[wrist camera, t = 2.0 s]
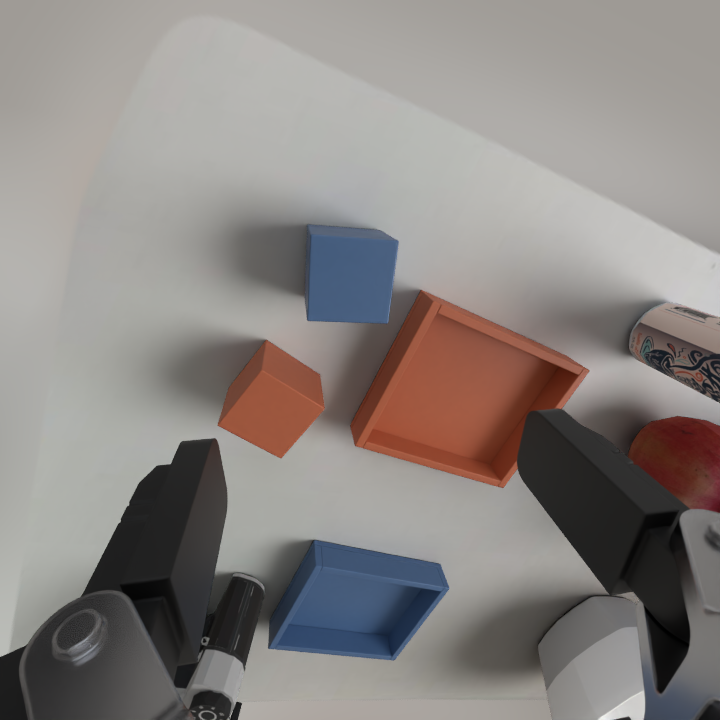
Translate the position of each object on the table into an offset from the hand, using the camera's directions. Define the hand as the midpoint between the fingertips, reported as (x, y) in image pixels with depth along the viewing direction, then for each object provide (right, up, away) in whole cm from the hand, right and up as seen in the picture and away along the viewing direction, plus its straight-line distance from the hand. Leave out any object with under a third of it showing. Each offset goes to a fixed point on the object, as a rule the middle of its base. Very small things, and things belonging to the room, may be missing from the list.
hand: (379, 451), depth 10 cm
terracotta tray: (+7, 0, +19) cm, 20 cm away
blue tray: (-1, -20, +27) cm, 34 cm away
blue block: (-2, +8, +14) cm, 16 cm away
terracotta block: (-6, +1, +16) cm, 17 cm away
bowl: (+28, -30, +37) cm, 55 cm away
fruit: (+25, -4, +24) cm, 35 cm away
